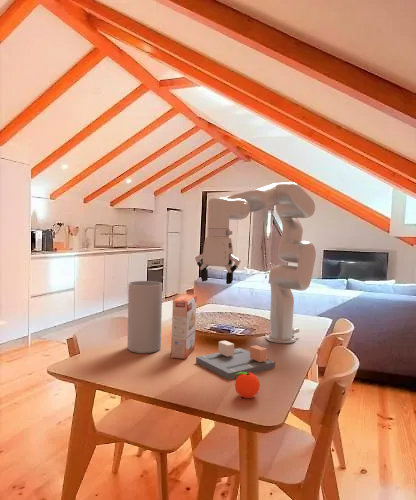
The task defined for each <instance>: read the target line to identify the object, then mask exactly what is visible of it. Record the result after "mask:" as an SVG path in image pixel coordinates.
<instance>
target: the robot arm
mask: <svg viewBox="0 0 416 500" xmlns="http://www.w3.org/2000/svg"><path fill="white" fill-rule="evenodd" d="M274 206H275V210H276V213H277V215H278V217H279V219H280V223H281V225H282V230H281V231H282V232H281V235H280V242H279V246H278V249H277V250H278V252H277V258H278V259H279V260H280V261H282V262H285V263H291V264H297V266H294V265H288V264H287V265H286V264H277V265H274V266H273V267H271V269H270V271H269V276H268V277H269V286H270V308H269V309H270V312H269V314H270V315H269V332H270V331H271V332H272V333H271V334H270V335H268V336H266V335H265V339H266V340H267V341H269V342H272V343H275V344H277V343H278V344H292V343H295V342H296V340H297V338H296V336H295V335H296V334H299V333H300V329H299V328H298V327H297V328H294V327H293V326H294V308H295V307H294V306H295V304H294V303H295V301H294V298H295V297H294V295H293V292H292V290H294V291H303V292H304V291H306V290H307V289H308V288H310V284H311V281H312V276H313V272H314V267H315V263H316V257H317V254H316V253H317V252H316V247H315V245H314V243H312V242H311V241H307V240H302V239H303V238H302V237H303V232H304V231H303V230H304V229H303V226H302V224H301V222H300V220H299V219H308V218H310V217H311V218H312V216H313V215H314V214H315V210H316V204H315V201H314V199H313V198H312V197H311V196H310V195H309V194H308V193H307V192H306V190H304V188H302V187H301V185H299V184H298V183H296V182H293V181H289V182H274V183H271V184H268V185H265V186H262V187H259V188H256V189H252V190H247V191H244V192H240V193H236V194H231V195H227V196H224V197H211V198H209V200H208V201H207V233H206V235H207V236H206V237H205V239H204V243H203V250H202V253H201V254H199V255H197V256H196V257H195V261H196V264H197V266H198V268H199V269H200V273H201V275H200V276H201V277H200V278H201V282H207V281H208V280H209V279H208V274H209V273H208V272H209V270H208V267H210V266H211V267H219V268H221V267H222V268H225V270H226V271H227V272H226V277H225V278H226V281H225V284H227V285H230V284H232V283H233V281H234V276H233V275H234V273H235V271H236V270H237V269H238V268H239V266H240V263H241V260H240V259H239V258H238V257H236V256H235V255H234V252H233V242H232V241H233V240H232V238H231V237H230V235H231V236H232V235H233V231H232V230H230V220H234V221H239V220H240V221H241V220H244V219H246V218H248V216H249V215H250V214H251V213H255V212H262V211H264V210H267V209H270V208H272V207H274ZM201 260H202V261H201ZM233 263H234V264H233Z"/></svg>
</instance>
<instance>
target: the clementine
mask: <svg viewBox="0 0 416 500" xmlns="http://www.w3.org/2000/svg"><path fill="white" fill-rule="evenodd" d="M237 374H240V375H239V376H238V377H237V378H235V382H234V389H235V391H236V393H237V394H238V395H239V396H240V397H242V398H244V399H252V398H253V397H256V395H257V394H258V392H260V387H261V384H260V380H259V378H258V377H257V376H256V374H255V373H250V372H239V373H237ZM235 375H236V374H235ZM233 377H234V376H233Z"/></svg>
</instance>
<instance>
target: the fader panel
mask: <svg viewBox="0 0 416 500" xmlns="http://www.w3.org/2000/svg"><path fill="white" fill-rule="evenodd" d="M195 363H196V364H198V365H199V364H200V365H199V366H202V367H204V368H205V367H206V369H207V368H208V370H209V369H210V371H211V372H214V373H215V374H217V375H219V376H221V377H222V378H225V379H227V380H230V381H231V380H233V379H237V377H238V376H239V375H240V374H237V373H239V372H250V373H253V374H256V373H260V372H264V371H268V370H270V369H274V368H275V367H276V366H275V365H276V362H275V361H274V360H271V359H268V358H267V361H263V362H258V361H256V360H254V359H251V358H250V350H246V349H243V348H241V347H238V348H234V355H233V356H228V357H227V356H224V355H222V354H220V353H218V352H215V353H209V354H205V355H200V356H196V357H195ZM235 374H236V375H235ZM233 376H234V377H233Z"/></svg>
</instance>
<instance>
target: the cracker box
mask: <svg viewBox="0 0 416 500" xmlns="http://www.w3.org/2000/svg"><path fill="white" fill-rule="evenodd" d="M197 298H198V296H197V294H185V293H184V294H182V295H180V296H178V297H177V298H175V299H174V300H172V318H171V320H172V323H171V343H170V344H171V345H170V347H171V348H170V349H171V350H170V358H173V359H181V360H186V359H187V358H188V357H189V355H190V354H191V353H192V352H193V350H194V349H195V343H196V341H195V339H196V324H197V323H196V321H197V318H196V316H197V301H198V300H197Z"/></svg>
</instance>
